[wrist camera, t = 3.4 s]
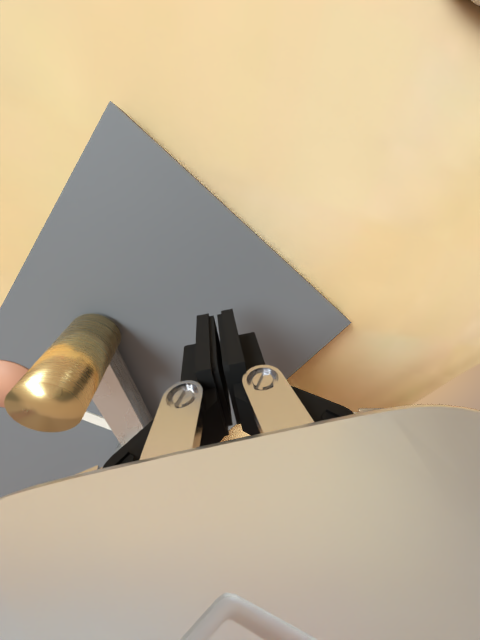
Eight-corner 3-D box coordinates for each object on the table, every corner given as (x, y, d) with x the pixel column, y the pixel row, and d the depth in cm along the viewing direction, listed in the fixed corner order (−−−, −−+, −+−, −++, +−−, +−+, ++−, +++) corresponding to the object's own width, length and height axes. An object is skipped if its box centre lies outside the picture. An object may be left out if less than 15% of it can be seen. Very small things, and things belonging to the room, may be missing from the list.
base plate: (119, 108, 11) (109, 99, 10) (342, 313, 17) (351, 323, 16) (-74, 461, 19) (-91, 479, 18) (125, 510, 26) (121, 525, 24)
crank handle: (210, 474, 22) (212, 551, 17) (136, 490, 22) (118, 572, 17) (145, 302, 14) (116, 365, 9) (23, 325, 13) (-69, 402, 9)
